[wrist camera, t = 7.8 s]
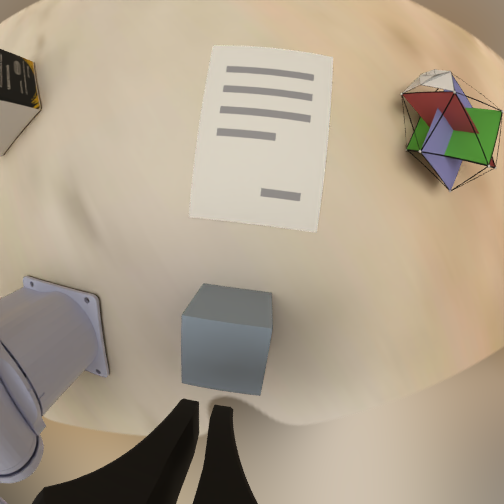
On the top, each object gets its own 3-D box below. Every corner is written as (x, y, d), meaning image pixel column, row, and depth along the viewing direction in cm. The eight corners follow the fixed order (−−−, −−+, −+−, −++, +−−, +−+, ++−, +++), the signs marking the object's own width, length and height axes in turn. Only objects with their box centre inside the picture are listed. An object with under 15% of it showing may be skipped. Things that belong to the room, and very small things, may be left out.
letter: (188, 216, 17) (188, 217, 17) (213, 46, 14) (213, 45, 14) (316, 232, 17) (316, 232, 17) (332, 57, 14) (333, 57, 14)
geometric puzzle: (500, 144, 12) (520, 79, 6) (475, 220, 14) (503, 178, 7) (423, 106, 16) (409, 35, 10) (393, 173, 18) (371, 114, 11)
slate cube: (200, 341, 19) (181, 383, 14) (203, 283, 18) (181, 315, 13) (262, 350, 19) (260, 395, 14) (271, 292, 18) (272, 328, 13)
